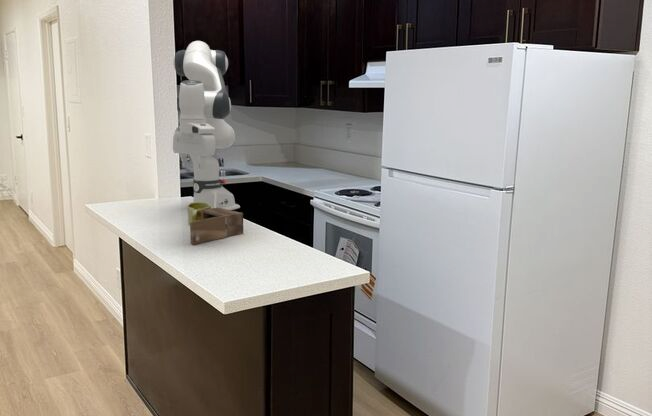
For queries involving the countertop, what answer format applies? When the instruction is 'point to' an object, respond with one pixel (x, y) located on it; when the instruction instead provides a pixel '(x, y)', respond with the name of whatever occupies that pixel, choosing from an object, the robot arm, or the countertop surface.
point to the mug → (196, 211)
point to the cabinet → (233, 219)
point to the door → (208, 229)
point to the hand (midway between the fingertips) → (193, 167)
